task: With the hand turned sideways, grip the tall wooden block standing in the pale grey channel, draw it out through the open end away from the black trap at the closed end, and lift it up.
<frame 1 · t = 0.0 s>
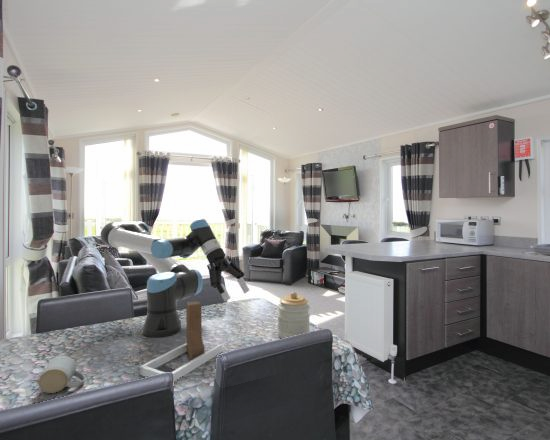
hand: (237, 295, 134), 15 cm above the table, tool tilted 35°, fingers open, 13 cm apart
ceramic mug: (63, 387, 94), on the table
channel: (183, 362, 109), on the table
jar: (293, 335, 132), on the table
wooden block: (195, 356, 114), resting in channel
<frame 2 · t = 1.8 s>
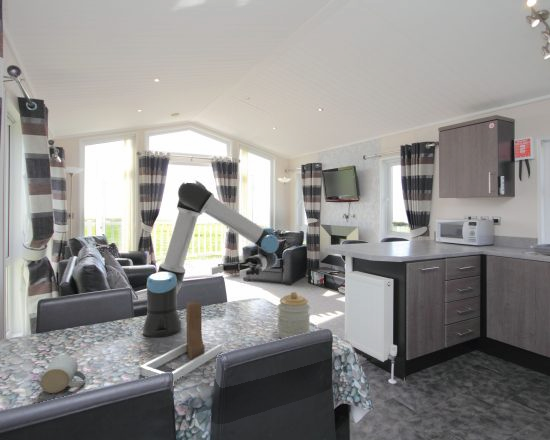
hand: (226, 272, 128), 26 cm above the table, tool horizontal, fingers open, 13 cm apart
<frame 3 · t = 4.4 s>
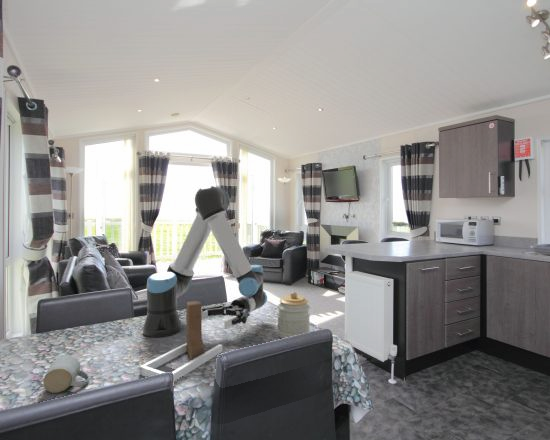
hand: (210, 321, 119), 10 cm above the table, tool horizontal, fingers open, 13 cm apart
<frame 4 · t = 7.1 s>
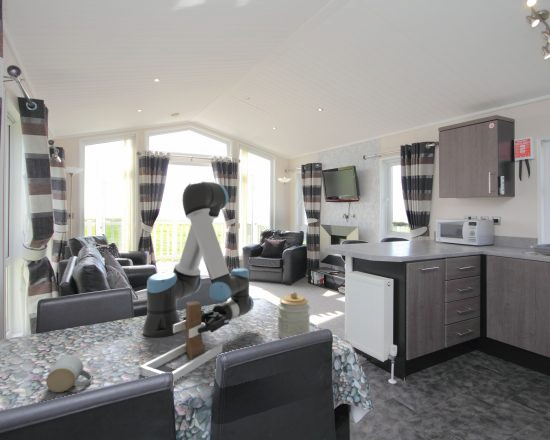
hand: (181, 331, 109), 10 cm above the table, tool horizontal, fingers open, 7 cm apart
wooden block: (195, 356, 113), resting in channel, touching gripper
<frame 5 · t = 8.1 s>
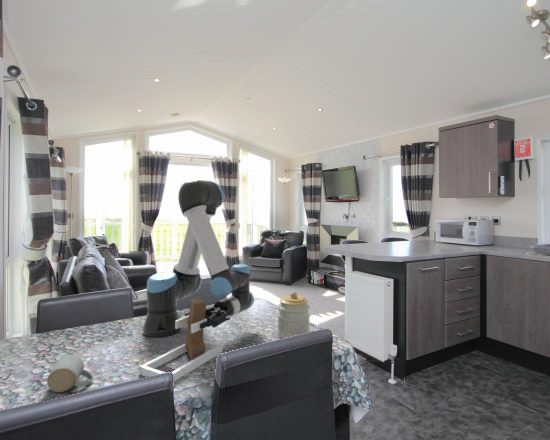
hand: (183, 326, 109), 12 cm above the table, tool horizontal, fingers closed on wooden block, 6 cm apart
wooden block: (194, 353, 113), point 1 cm above the table, touching gripper
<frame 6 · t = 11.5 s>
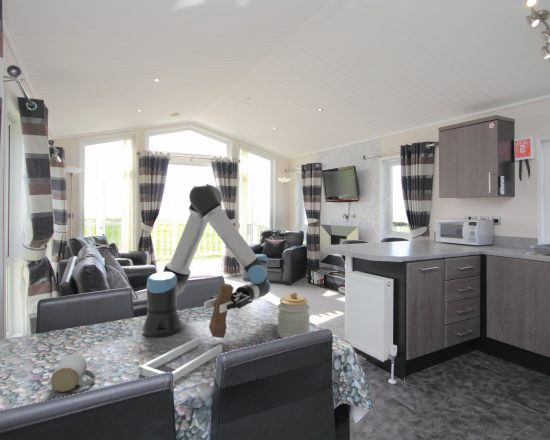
hand: (212, 307, 121), 14 cm above the table, tool horizontal, fingers closed on wooden block, 7 cm apart
wooden block: (215, 333, 124), point 4 cm above the table, touching gripper
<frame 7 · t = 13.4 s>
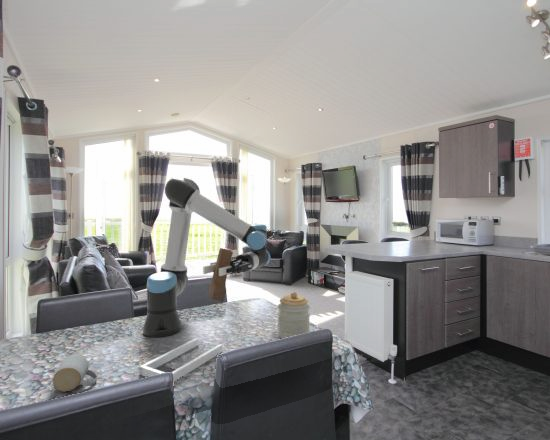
hand: (211, 271, 120), 28 cm above the table, tool horizontal, fingers closed on wooden block, 7 cm apart
wooden block: (215, 297, 123), point 17 cm above the table, touching gripper
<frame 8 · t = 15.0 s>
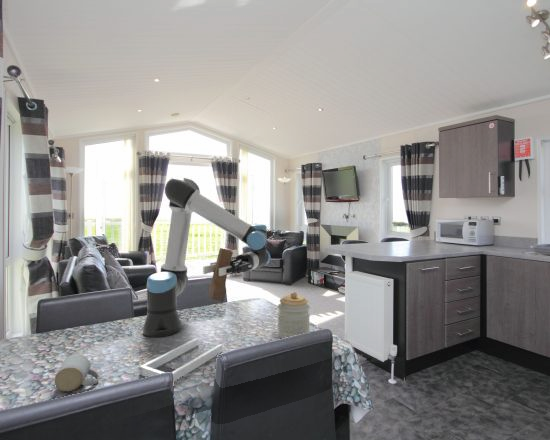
hand: (211, 271, 120), 28 cm above the table, tool horizontal, fingers closed on wooden block, 7 cm apart
wooden block: (215, 297, 123), point 17 cm above the table, touching gripper
at the end: the gripper is holding wooden block; wooden block inside the target area (2.9 cm from its centre), point 17.4 cm above the table; wooden block tilted 14° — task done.
